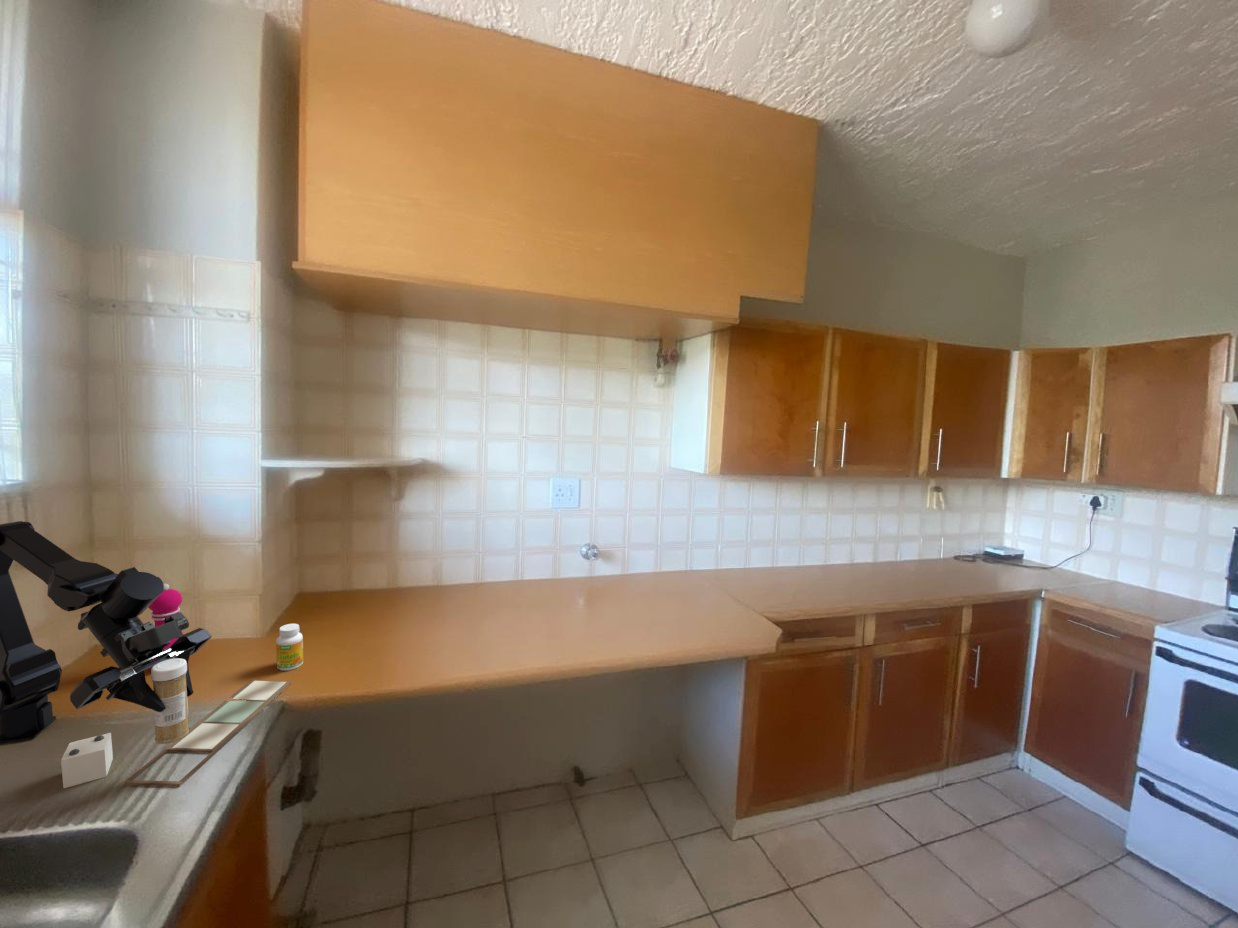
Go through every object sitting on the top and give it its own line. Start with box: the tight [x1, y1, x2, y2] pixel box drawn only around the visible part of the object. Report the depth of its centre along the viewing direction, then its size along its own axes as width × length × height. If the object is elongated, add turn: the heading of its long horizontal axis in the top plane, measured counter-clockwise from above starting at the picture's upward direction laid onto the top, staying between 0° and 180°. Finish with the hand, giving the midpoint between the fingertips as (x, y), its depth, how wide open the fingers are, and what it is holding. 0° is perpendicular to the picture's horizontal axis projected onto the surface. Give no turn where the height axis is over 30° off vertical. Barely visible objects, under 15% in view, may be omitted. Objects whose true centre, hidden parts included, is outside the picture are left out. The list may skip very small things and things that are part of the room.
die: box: [60, 732, 114, 789], centre depth 85 cm, size 5×5×6 cm
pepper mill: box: [147, 583, 185, 670], centre depth 118 cm, size 7×7×20 cm
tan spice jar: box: [150, 658, 190, 745], centre depth 87 cm, size 5×5×14 cm
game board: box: [123, 680, 293, 787], centre depth 99 cm, size 9×30×1 cm, turn 2°
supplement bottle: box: [275, 623, 304, 671], centre depth 121 cm, size 5×5×10 cm
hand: (177, 702), depth 87 cm, fingers closed on tan spice jar, 4 cm apart
